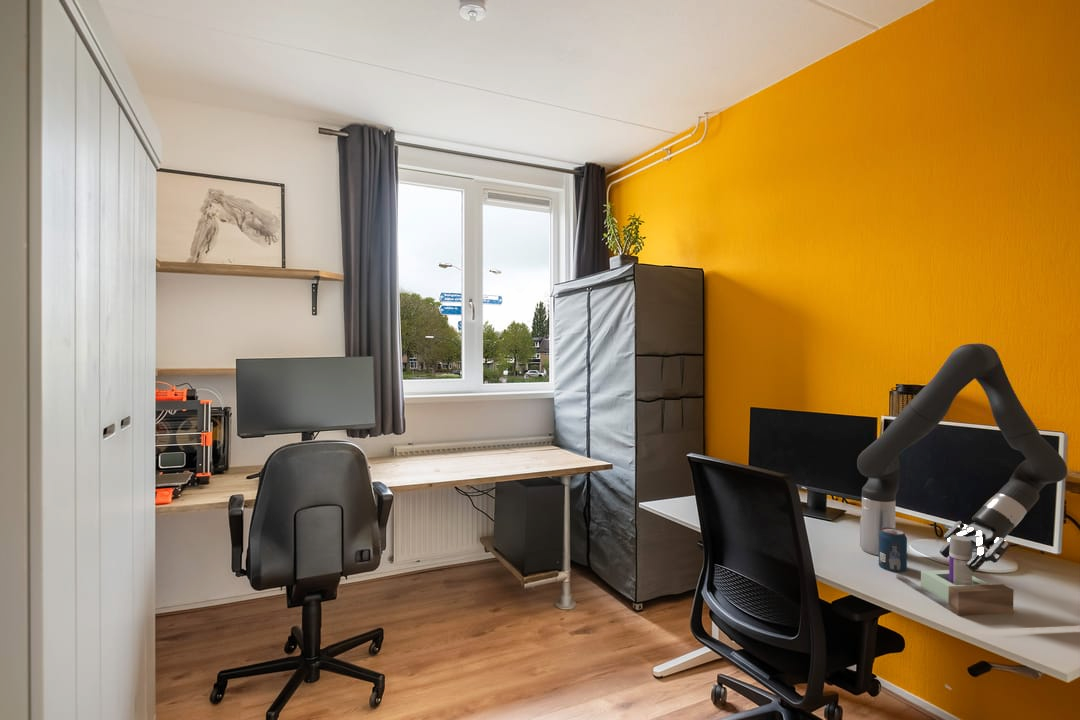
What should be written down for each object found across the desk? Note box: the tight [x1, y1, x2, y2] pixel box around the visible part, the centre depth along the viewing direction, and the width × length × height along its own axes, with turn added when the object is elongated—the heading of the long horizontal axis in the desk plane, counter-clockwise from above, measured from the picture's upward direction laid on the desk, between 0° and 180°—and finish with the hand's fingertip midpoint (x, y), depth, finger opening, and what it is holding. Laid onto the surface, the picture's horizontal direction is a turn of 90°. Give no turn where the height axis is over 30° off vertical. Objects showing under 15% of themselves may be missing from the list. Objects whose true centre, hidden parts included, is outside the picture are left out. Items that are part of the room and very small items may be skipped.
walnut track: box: [895, 574, 1015, 617], centre depth 143 cm, size 23×14×7 cm, turn 3°
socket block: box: [920, 569, 991, 603], centre depth 142 cm, size 11×11×5 cm
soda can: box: [878, 527, 908, 573], centre depth 161 cm, size 7×7×12 cm
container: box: [948, 534, 973, 585], centre depth 141 cm, size 5×5×15 cm
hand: (955, 561), depth 140 cm, fingers open, 8 cm apart
